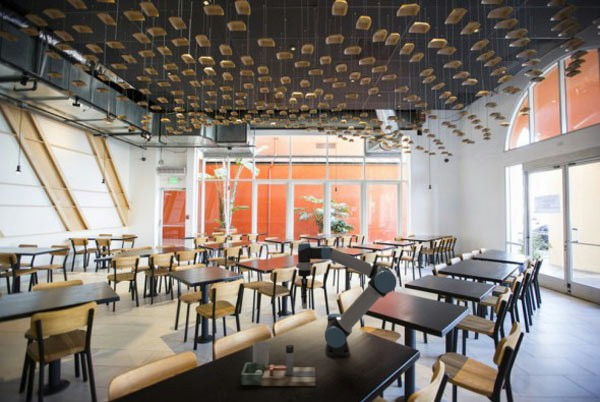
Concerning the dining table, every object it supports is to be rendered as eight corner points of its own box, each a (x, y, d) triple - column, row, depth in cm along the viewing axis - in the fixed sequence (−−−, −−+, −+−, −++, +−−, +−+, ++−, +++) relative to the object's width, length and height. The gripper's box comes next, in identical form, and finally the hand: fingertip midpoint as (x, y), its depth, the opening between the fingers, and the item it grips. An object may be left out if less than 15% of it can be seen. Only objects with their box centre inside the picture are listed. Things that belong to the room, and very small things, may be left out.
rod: (293, 370, 154) (293, 344, 155) (293, 375, 149) (293, 348, 150) (270, 370, 154) (270, 344, 155) (269, 375, 149) (269, 348, 150)
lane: (314, 371, 158) (314, 361, 159) (315, 385, 144) (315, 375, 145) (246, 371, 159) (246, 361, 159) (240, 385, 145) (240, 375, 145)
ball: (254, 371, 154) (258, 377, 154) (252, 375, 150) (257, 381, 150) (260, 366, 154) (264, 373, 154) (259, 370, 150) (263, 377, 150)
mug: (269, 367, 163) (269, 347, 164) (253, 369, 161) (253, 348, 161) (266, 357, 174) (266, 338, 175) (251, 359, 172) (252, 340, 173)
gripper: (298, 265, 186) (298, 299, 185) (297, 272, 161) (297, 311, 160) (310, 265, 186) (310, 299, 185) (311, 272, 161) (311, 311, 160)
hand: (304, 305), depth 172 cm, fingers open, 13 cm apart
